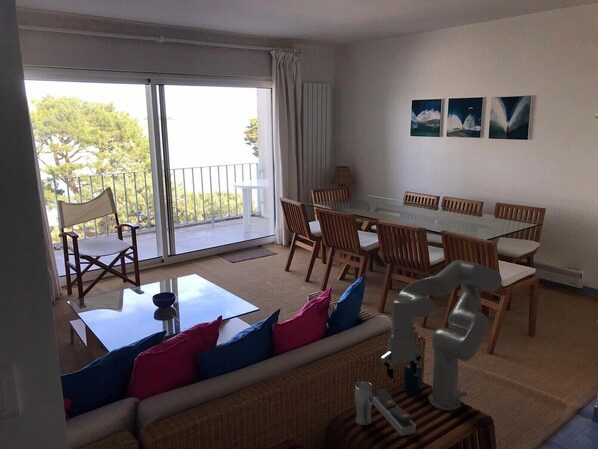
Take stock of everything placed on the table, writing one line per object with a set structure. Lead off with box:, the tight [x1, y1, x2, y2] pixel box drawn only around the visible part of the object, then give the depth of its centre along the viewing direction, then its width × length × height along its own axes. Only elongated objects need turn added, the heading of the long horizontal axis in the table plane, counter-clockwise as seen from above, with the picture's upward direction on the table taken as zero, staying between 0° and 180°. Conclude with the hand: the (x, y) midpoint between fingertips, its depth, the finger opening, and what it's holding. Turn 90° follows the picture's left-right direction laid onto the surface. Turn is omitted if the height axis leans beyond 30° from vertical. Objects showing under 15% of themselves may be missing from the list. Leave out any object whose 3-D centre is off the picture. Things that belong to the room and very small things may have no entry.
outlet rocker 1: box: [375, 387, 398, 409], centre depth 192 cm, size 4×10×1 cm, turn 18°
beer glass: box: [354, 380, 374, 426], centre depth 184 cm, size 7×7×15 cm
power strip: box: [372, 395, 417, 437], centre depth 187 cm, size 23×6×3 cm, turn 18°
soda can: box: [403, 362, 422, 396], centre depth 205 cm, size 7×7×12 cm
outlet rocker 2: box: [390, 406, 414, 422], centre depth 181 cm, size 4×10×1 cm, turn 18°
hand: (401, 374), depth 179 cm, fingers open, 9 cm apart
